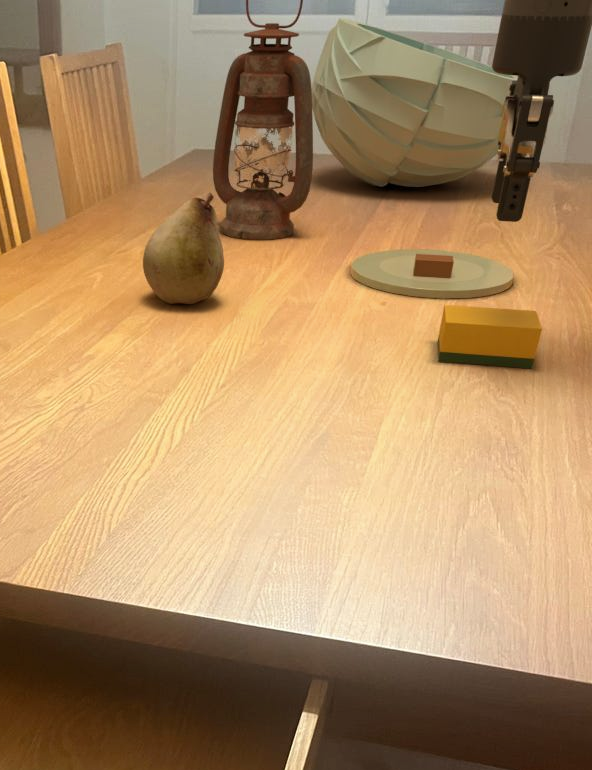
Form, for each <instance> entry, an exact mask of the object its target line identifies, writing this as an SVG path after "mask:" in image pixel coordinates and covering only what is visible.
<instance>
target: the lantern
mask: <svg viewBox="0 0 592 770" xmlns="http://www.w3.org/2000/svg"><path fill="white" fill-rule="evenodd" d="M299 1H300V2H299V8H298V12H297V15H296V17H295V19H294V20H293V22H291V23H290V24H287V25H280V24H279V23H278V22H268V23H265V24H258V23H255V22H254V21H253V20H252V18H251V16H250V12H249V10H250V9H249V0H245V13H246V17H247V20H248V21H249V24H251V25H252V26H253V27H255V28H261V29H258V30H253V31H249V32H244V34H243V37H246V38H250V46H248V49H249V50H251V51H248V52H245V53H242V54H240V55H238V56H237V57H235V59H234V60H233V61H232V63H231V65H230V67H229V69H228V72H227V76H226V80H225V83H224V84H225V85H224V89H223V95H222V100H221V105H220V111H219V118H218V124H217V130H216V136H215V143H214V150H213V151H214V152H213V161H212V181H213V185H214V191H215V192H216V194H217V196H218V198H219V199H220V200H221V202H223V203H224V204H225V206H226V207H225V217H224V218H223V220H222V221H221V222H220V224H219V232H220V233H221V234H222V235H224V236H227V237H231V238H234V239H240V240H241V239H242V240H255V241H269V240H278V239H283V238H287V237H290V236H292V235H293V234H294V228H295V224H294V223H293V221H292V220H291V218H290V217H291V213H294V212H296V211H297V210H299V209H300V208H301V207H302V206H303V205H304V203H305V202H306V201H307V198H308V195H309V193H310V191H311V185H312V180H313V167H314V126H313V125H314V124H313V122H314V121H313V118H314V117H313V109H312V80H311V73H310V70H309V67H308V65H307V62H305V60H304V59H303V58H302V57H300V56H299V55H295V53H294V52H292V51H291V50H292V49H293V46H292V45H291V42H292V38H297V37H299V36H300V33H299V32H295V31H291V30H285V29H289V28H292V27H293V26H294V25H295V24H296V23H297V22H298V20H299V18H300V16H301V12H302V10H303V9H302V8H303V3H304V0H299ZM255 39H260V42H259V43H256V44H255ZM268 39H269V40H275V43H267V40H268ZM282 39H287V44H285V43H282ZM240 97H243V98H244V100H243V108H242V109H241V110H240V111H238V107H239V103H240ZM291 97H293V100H294V113H293V112H292V111H291V110H290V109H289V101H290V100H289V98H291ZM235 126H236V131H235ZM262 129H263V130H266V131H265V132H266V133H265V132H262V133H260V134H259V132H258V131H259V130H262ZM293 129H295V131H294V130H293ZM234 131H235V133H234ZM294 132H295V168H294V169H295V171H293V169H288V166H289V161H290V156H291V151H292V142H293V135H294V134H293V133H294ZM234 134H235V137H234V139H237V138H238V139H239V141H241V144H238V143H237V141H234V148H233V153H234V164H235V165H234V166H235V169H234V170H233V171H234V172H235V175H237V176H238V177H237V176H235V178H236V179H238V181H237V183H236V186H237V187H238V188H241V189H244V190H243V191H239V190H237V189H236V188H234V187H233V186H232V185H231V184H232V183H231V181H230V176H229V174H230V173H229V171H230V170H229V169H230V166H229V165H230V157H231V149H232V142H233V136H234ZM269 135H274V136H275V135H279V136H278V138H276V141H280V144H279V145H277V147H278V148H277V147H276V146H275V147H274V142H273V141H272V140H271V141H270V139H268V138H270V136H269ZM289 141H291V142H289ZM287 142H288V144H287ZM280 166H281V167H280ZM265 168H267V169H265ZM279 168H281V169H280V170H279ZM241 171H242V172H241ZM275 172H276V174H274V173H275ZM278 172H279V175H278V174H277V173H278ZM284 172H286V173H284ZM242 173H243V175H244V176H245V177H247V178H245V179H243V180H241V174H242ZM251 174H252V175H251ZM273 176H274V177H279V178H281V180H280V181H279V179H276V178H275V179H276V180H272V179H273ZM286 177H287V182H288V183H293V186H292V188H291V191H290V193H289V194H288V195H285V194H284V193H282V192H281V191H279V192H277V191H275V190H276V189H281V188H283V187H284V185H285V184H284V180H285V178H286ZM241 183H247V186H245V184H244V185H243V184H241ZM270 183H276V184H278V185H279V186H278V185H275V186H273V187H272V186H270ZM240 184H241V185H240ZM248 186H249V187H248Z"/></svg>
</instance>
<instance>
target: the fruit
mask: <svg viewBox="0 0 592 770" xmlns="http://www.w3.org/2000/svg"><path fill="white" fill-rule="evenodd" d="M213 200H214V195H213V194H212V193H211V192H208V193H207V195H206V199H203V198H200V197H191V198H190V199H188V200H187V201H185V202H184V203H183V204H182V205H181V206H180V207H179V208H177V210H176V211H175V212H173V214H171V215H169V217H168V218H167V219H166V220H164V221H163V222H162V223H161V224H160V225H159V226H158V227H157V228H156V229H155V230H154V231H153V233H152V234H151V236H150V238H149V239H148V240H147V243H146V245H145V248H144V251H143V255H142V270H143V274H144V277H145V279H146V283H147V284H148V285H149V287H150V288H151V290H152V291H153V293H154V294H155V295H156V296H157V297H158V298H159V299H160V300H162V301H164V303H167V304H169V305H170V304H171V305H172V304H183V305H194V304H196V303H199V302H202V301H204V300H206V299H208V298H210V296H212V295H213V293H214V292H215V290H217V288H218V285H219V284H220V282H221V280H222V277H223V274H224V270H225V257H224V256H225V255H224V247H223V243H222V239H221V237H220V234H219V231H218V215H217V213H216V210H215V209H214V206H213V205H211V202H212V201H213Z"/></svg>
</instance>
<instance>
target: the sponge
mask: <svg viewBox="0 0 592 770" xmlns="http://www.w3.org/2000/svg"><path fill="white" fill-rule="evenodd" d="M542 332H543V328H542V324H541V321H540V318H539V315H538V312H537V310H527V309H514V308H513V309H511V308H500V307H499V308H498V307H484V306H483V307H481V306H468V305H455V304H454V305H452V304H444V305H443V311H442V317H441V321H440V325H439V331H438V336H437V343H436V344H437V361H438V362H441V363H453V364H465V365H466V364H467V365H477V366H478V365H480V366H491V367H504V368H505V367H506V368H517V369H518V368H519V369H528V370H529V369H530V370H531V369H533V367H534V363H535V359H536V354H537V350H538V346H539V344H540V339H541V336H542Z"/></svg>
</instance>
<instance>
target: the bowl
mask: <svg viewBox="0 0 592 770" xmlns="http://www.w3.org/2000/svg"><path fill="white" fill-rule="evenodd" d="M517 78H518V75H504V74H499V73H496V72H495V71H494V70H493V68H492V65H489V64H486V63H483V62H481V61H478V60H476V59H472V58H470V57H467V56H464V55H461V54H459V53H457V52H453V51H450V50H447V49H444V48H441V47H438V46H435V45H433V44H429V43H426V42H422V41H420V40H417V39H414V38H411V37H408V36H405V35H402V34H399V33H397V32H392V31H390V30H386V29H384V28H380V27H377V26H373V25H371V24H366V23H364V22H360V21H356V20H351V19H348V18H341V17H339V18H338V19H337V22H336V25H335V26H333V27H332V28H331V29H330V30H329V32H328V34H327V37H326V40H325V42H324V45H323V48H322V50H321V53H320V56H319V59H318V62H317V66H316V69H315V72H314V75H313V79H312V82H311V89H312V114H313V116H314V117H313V118H314V121H315V123H316V127H317V130H318V132H319V134H320V135H319V136H320V138H321V139H322V141H323V143H324V145H325V146H326V147H327V149H328V150H329V152H330V153H331V155H333V157H334V158H335V159H336V160H337V161H338V162H339V163H340V164H341V165H342V166H343V167H344V168H345V169H346V170H347V171H348V172H349V173H350V174H351V175H353V176H355V177H356V178H358V179H359V180H360V181H363V182H364V183H366V184H368V185H370V186H373V187H377V186H378V187H385V186H387V185H388V184H393V185H397V186H402V187H403V186H404V187H413V188H421V187H429V186H434V185H435V186H436V185H440V184H445V183H449V182H453V181H456V180H460V179H462V178H464V177H466V176H468V175H469V174H471V173H473V172H475V171H476V170H479V169H480V168H481V167H483V166H484V165H486V164H487V163H488V162H490V161H491V160H492V159H493V158H494V157H495V156H497V154H498V149H499V145H498V141H499V140H498V139H499V131H500V126H501V122H502V118H503V117H502V112H503V104H504V100H505V97H506V96H509V95H510V91H509V88H510V85H512V81H513V80H517Z"/></svg>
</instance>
